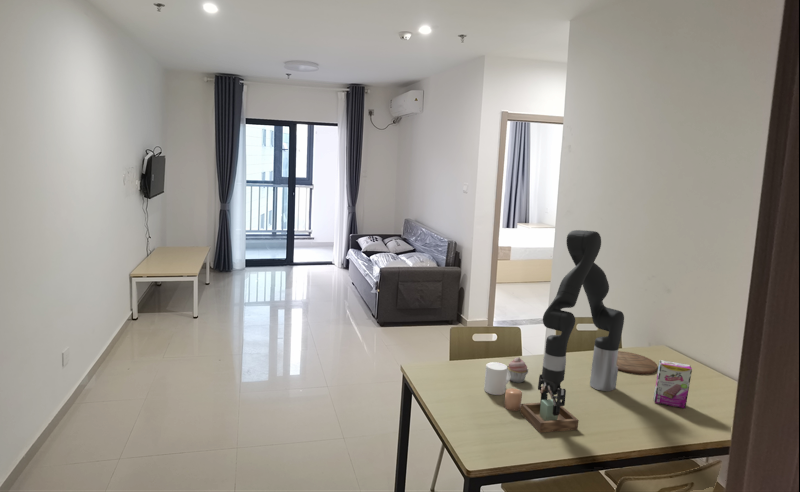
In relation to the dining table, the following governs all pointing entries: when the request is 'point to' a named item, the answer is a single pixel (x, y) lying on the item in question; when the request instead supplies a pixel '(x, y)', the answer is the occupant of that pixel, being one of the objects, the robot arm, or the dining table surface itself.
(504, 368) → the mug
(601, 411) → the dining table surface
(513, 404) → the peach capsule shape
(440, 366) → the dining table surface
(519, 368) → the cupcake
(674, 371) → the candy bar box
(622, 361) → the trivet
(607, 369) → the robot arm
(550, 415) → the sage block
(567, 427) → the tray
